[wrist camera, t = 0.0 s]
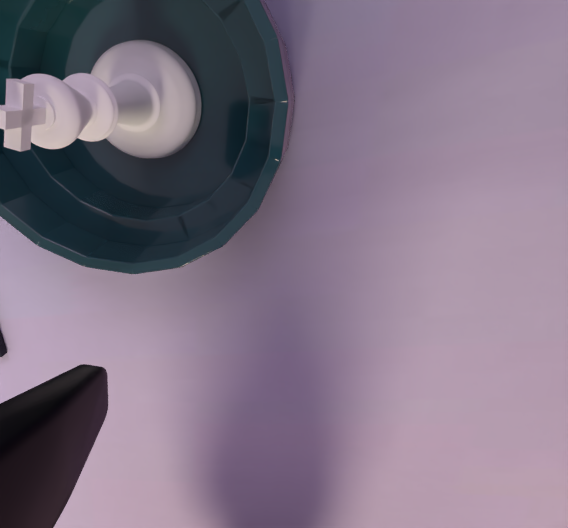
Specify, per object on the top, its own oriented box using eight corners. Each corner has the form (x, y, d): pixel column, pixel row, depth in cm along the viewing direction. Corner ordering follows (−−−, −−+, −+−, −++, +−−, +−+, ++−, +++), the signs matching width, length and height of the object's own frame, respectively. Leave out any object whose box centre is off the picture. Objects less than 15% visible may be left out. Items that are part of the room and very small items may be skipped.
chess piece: (87, 140, 21) (-101, 186, 11) (99, 24, 19) (-114, -33, 10) (189, 171, 21) (86, 241, 12) (212, 60, 19) (111, 38, 10)
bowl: (274, 255, 22) (264, 294, 18) (22, 217, 23) (-45, 247, 19) (315, -50, 17) (313, -91, 13) (-9, -94, 18) (-109, -149, 14)
